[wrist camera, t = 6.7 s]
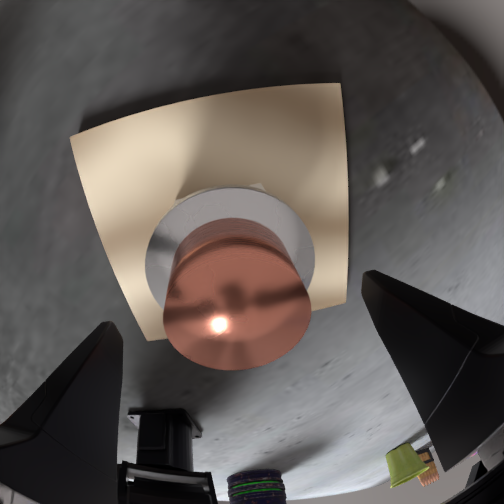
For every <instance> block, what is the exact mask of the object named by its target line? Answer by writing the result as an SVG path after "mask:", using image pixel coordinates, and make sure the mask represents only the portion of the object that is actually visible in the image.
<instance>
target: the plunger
mask: <svg viewBox="0 0 504 504" xmlns="http://www.w3.org/2000/svg"><path fill="white" fill-rule="evenodd" d="M314 268H315V252H314V245H313V242H312V238H311V236H310V234H309V231H308V229H307V228H306V226H305V224H304V223H303V221H302V220H301V219H300V217H299V216H298V215H297V213H296V212H295V211H294V210H293V209H292V208H291V207H290V206H289V205H288V204H287V203H285V202H284V201H283V200H282V199H280V198H278V197H277V196H275V195H273V194H272V193H269V192H267V191H265V190H262V189H259V188H255V187H252V186H246V185H238V184H226V185H218V186H212V187H208V188H205V189H201V190H199V191H196V192H194V193H192V194H190V195H188V196H186V197H184V198H183V199H181V200H180V201H178V202H177V203H176V204H174V205H173V206H172V207H171V208H170V209H169V210H168V211H167V212H166V213H165V214H164V215H163V217H162V218H161V219H160V221H159V222H158V224H157V225H156V227H155V229H154V231H153V233H152V236H151V238H150V241H149V244H148V247H147V250H146V257H145V273H146V279H147V283H148V286H149V289H150V291H151V293H152V295H153V297H154V299H155V300H156V301H157V303H158V304H159V306H160V307H161V308H162V309H163V310H164V311H163V325H164V330H165V332H166V335H167V337H168V339H169V341H170V342H171V344H172V345H173V346H174V347H175V349H177V350H178V351H179V352H180V353H181V354H182V355H183V356H185V357H186V358H188V359H190V360H191V361H193V362H195V363H197V364H200V365H203V366H206V367H209V368H214V369H220V370H244V369H250V368H255V367H259V366H262V365H265V364H267V363H270V362H272V361H274V360H276V359H278V358H280V357H281V356H283V355H284V354H286V353H287V352H288V351H290V350H291V349H292V348H293V347H294V346H295V345H296V344H297V343H298V342H299V341H300V339H301V338H302V337H303V335H304V333H305V332H306V330H307V328H308V325H309V322H310V318H311V301H310V298H309V294H308V292H307V290H308V288H309V285H310V283H311V280H312V277H313V273H314Z"/></svg>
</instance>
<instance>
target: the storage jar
mask: <svg viewBox="0 0 504 504" xmlns="http://www.w3.org/2000/svg"><path fill="white" fill-rule="evenodd" d="M227 482H228V489H229V490H228V497H229V500H230V504H286V493H285V486H284V484H283V480H282V479H281V472H280V471H278V470H272V469H262V470H252V471H245V472H240V473H237V474H233V475H231V476H229V477H228V478H227Z"/></svg>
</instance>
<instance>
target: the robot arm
mask: <svg viewBox="0 0 504 504" xmlns="http://www.w3.org/2000/svg"><path fill="white" fill-rule="evenodd" d="M361 293H362V297H363V299H364V302H365V304H366V306H367V309H368V311H369V313H370V316H371V318H372V321H373V323H374V325H375V328H376V330H377V332H378V334H379V336H380V338H381V339H382V341H383V343H384V345H385V347H386V349H387V351H388V352H389V354H390V356H391V358H392V360H393V362H394V364H395V366H396V368H397V370H398V371H399V373H400V375H401V377H402V379H403V381H404V383H405V385H406V387H407V389H408V391H409V393H410V395H411V397H412V399H413V402H414V404H415V406H416V408H417V410H418V412H419V414H420V416H421V418H422V421H423V423H424V424H425V428H426V430H427V432H428V434H429V436H430V439H431V441H432V443H433V446H434V448H435V450H436V453H437V455H438V457H439V460H440V462H441V465H442V467H443V469H444V471H445V472H447V471H449V470H450V469H452V468H453V467H455V466H457V465H458V464H459V463H461V462H463V461H464V460H466V459H467V458H469V457H470V456H472V455H473V454H475V453H476V452H478V454H479V456H480V458H481V461H479V462H478V463H477V464H475V465H474V466H473V467H472V469H471V472H470V475H469V478H468V481H467V484H466V487H465V489H463V490H462V491H460V492H459V493H457V494H456V495H454V496H453V497H451V498H450V499H448V500H446V501H445V502H443V503H441V504H504V326H503V325H501V324H498V323H495V322H493V321H490V320H487V319H485V318H482V317H480V316H477V315H475V314H472V313H470V312H468V311H465V310H463V309H461V308H459V307H457V306H454V305H451V304H450V303H448V302H446V301H443V300H441V299H439V298H437V297H435V296H433V295H430V294H428V293H426V292H424V291H422V290H419V289H417V288H415V287H413V286H410V285H408V284H406V283H404V282H401V281H399V280H397V279H395V278H392V277H390V276H388V275H385V274H383V273H381V272H378V271H376V270H370V271H366V272H364V273H363V278H362V289H361ZM122 376H123V339H122V336H121V334H120V333H119V331H118V329H117V327H116V326H115V324H114V323H113V322H112V321H106V322H102V323H101V324H100V325H99V326H98V327H97V328H96V329H95V330H94V331H93V332H92V333H91V334H90V335H89V336H88V337H87V338H86V339H85V340H84V341H83V342H82V343H81V344H80V345H79V346H78V347H77V348H76V349H75V350H74V351H73V352H72V353H71V354H70V355H69V356H68V357H67V358H66V359H65V360H64V361H63V362H62V363H61V364H60V365H59V366H58V367H57V368H56V370H55V371H54V372H53V373H52V374H51V375H50V376H49V377H48V378H47V379H46V382H43V383H42V385H41V386H40V387H39V388H38V389H37V390H36V391H35V392H34V393H33V394H32V395H31V396H30V397H29V398H28V399H27V400H26V401H25V402H24V403H23V404H22V405H21V406H20V407H19V408H18V409H17V410H16V411H15V412H14V413H13V414H12V415H11V416H10V417H9V418H8V419H7V420H6V421H5V422H3V423H2V424H1V425H0V504H218V502H217V498H216V493H215V489H214V484H213V480H212V475H211V472H193V449H192V439H195V438H201V437H202V433H201V432H200V431H199V429H198V428H197V426H196V425H195V424H194V422H193V421H192V419H191V418H190V416H189V415H188V414H187V412H186V411H185V410H182V409H179V410H166V411H148V412H128V415H127V417H128V418H129V419H130V420H131V421H132V422H133V424H134V425H135V426H136V427H137V428H138V429H139V430H138V441H137V459H136V464H134V463H128V461H123V460H122V464H117V443H118V424H119V410H120V398H121V388H122ZM128 478H129V479H134V482H132V481H128Z"/></svg>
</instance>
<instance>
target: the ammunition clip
mask: <svg viewBox="0 0 504 504" xmlns="http://www.w3.org/2000/svg"><path fill="white" fill-rule="evenodd" d="M416 453H417V455H418V456H419V457H420V459H421V460H422V461H423V462H424V463H425V464H426V465H427V466H429V468H428V469H427V470H426V471H424V472H423V473H421V474H420V475H418V476H417V477H418V478H419V480H420V482H421V484H422V485H423V486H424V487H425V484H426V485H428V482H429V483H430V484H431V481H432V482H434V480H435V481H436V480H437V479H438V480H439V474H438V472H437V469H436V466H435V464H434V459H433V457H432V455H431V452H430V450H429V448H427V449H424V450H420V451H417V452H416ZM436 478H437V479H436Z"/></svg>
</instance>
